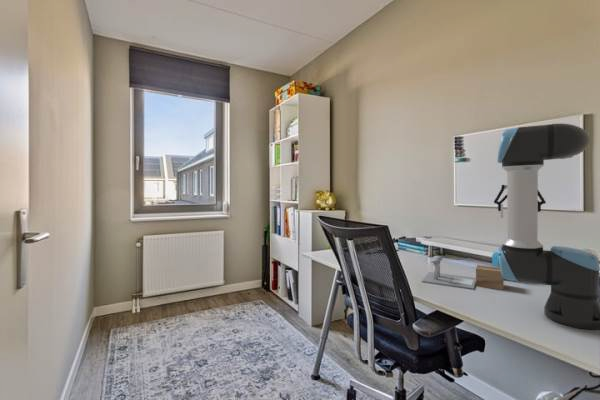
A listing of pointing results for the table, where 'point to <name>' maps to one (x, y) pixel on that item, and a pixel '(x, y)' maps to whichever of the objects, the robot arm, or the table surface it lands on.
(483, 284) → the wooden notched block
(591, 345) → the table surface
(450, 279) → the boss board
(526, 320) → the table surface
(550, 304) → the robot arm
